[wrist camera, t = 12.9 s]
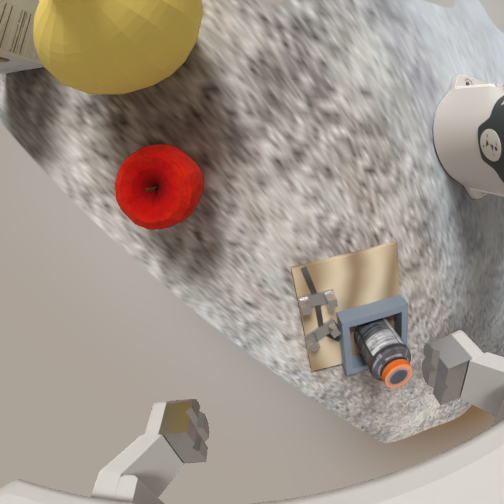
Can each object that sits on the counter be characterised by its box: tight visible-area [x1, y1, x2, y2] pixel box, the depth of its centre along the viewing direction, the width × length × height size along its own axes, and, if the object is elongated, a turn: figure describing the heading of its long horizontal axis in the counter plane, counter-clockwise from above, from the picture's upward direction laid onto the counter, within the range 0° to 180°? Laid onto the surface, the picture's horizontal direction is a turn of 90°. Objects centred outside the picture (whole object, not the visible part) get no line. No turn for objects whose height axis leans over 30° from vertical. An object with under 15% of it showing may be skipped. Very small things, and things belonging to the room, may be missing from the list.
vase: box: [33, 0, 203, 94], centre depth 19 cm, size 16×16×28 cm
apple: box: [115, 144, 204, 230], centre depth 33 cm, size 9×9×11 cm
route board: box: [291, 242, 400, 371], centre depth 44 cm, size 15×18×1 cm
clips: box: [298, 289, 341, 352], centre depth 42 cm, size 5×8×2 cm, turn 14°
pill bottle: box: [354, 317, 413, 388], centre depth 39 cm, size 6×6×11 cm
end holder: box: [336, 295, 408, 375], centre depth 43 cm, size 10×10×3 cm
